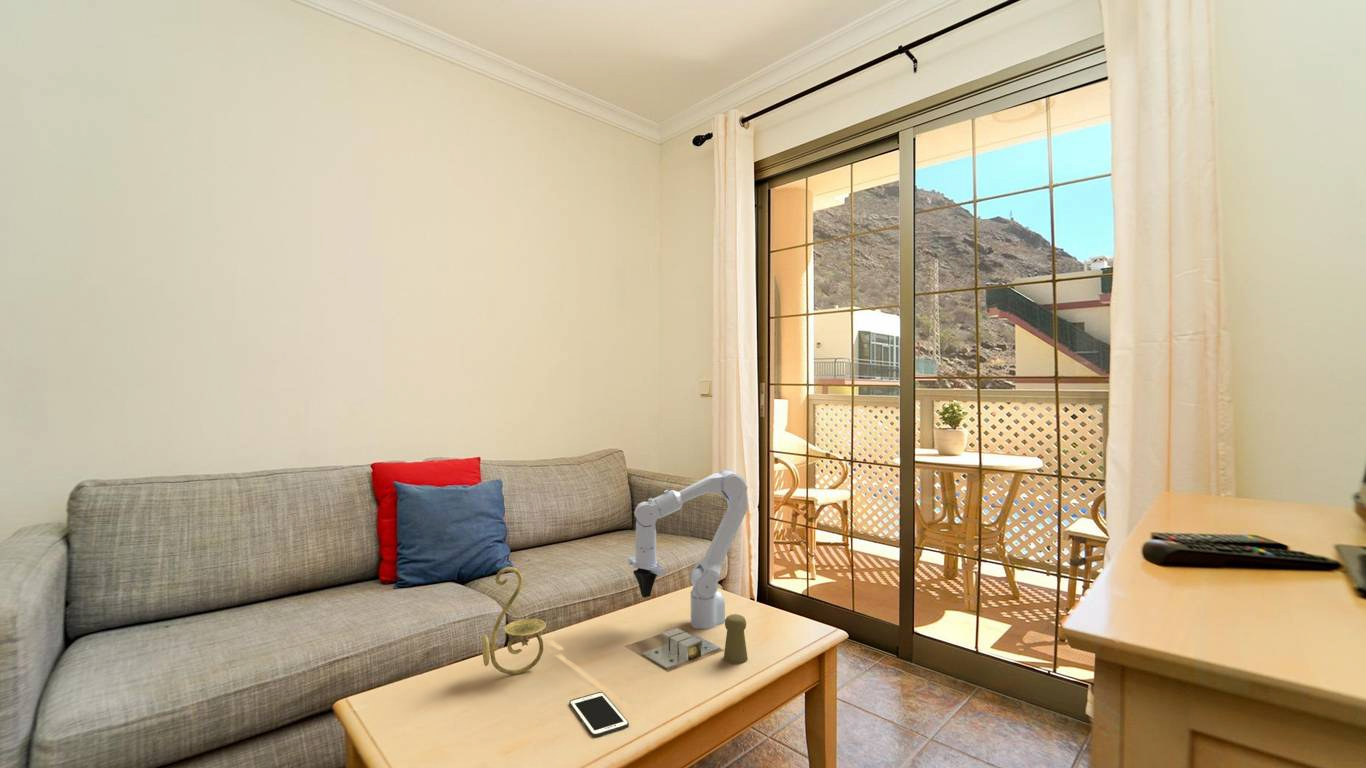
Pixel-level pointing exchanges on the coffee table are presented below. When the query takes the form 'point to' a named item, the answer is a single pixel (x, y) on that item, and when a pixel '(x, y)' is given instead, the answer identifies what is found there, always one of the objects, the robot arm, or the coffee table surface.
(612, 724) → the cell phone
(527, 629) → the wall sconce
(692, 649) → the pin
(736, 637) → the olive green pawn
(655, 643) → the board
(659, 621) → the coffee table surface
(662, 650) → the hinge leaves
